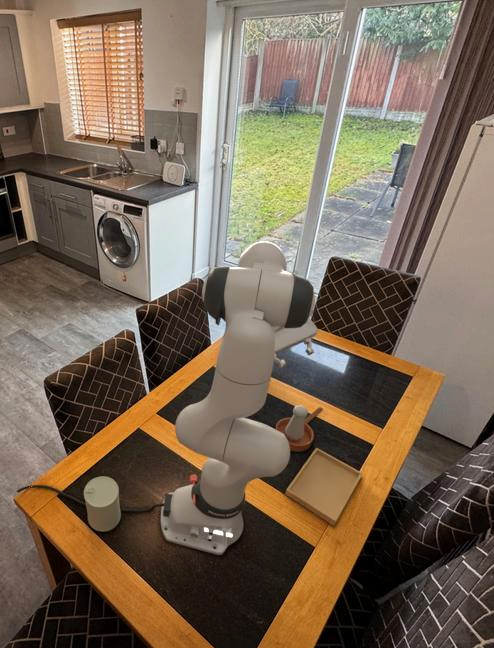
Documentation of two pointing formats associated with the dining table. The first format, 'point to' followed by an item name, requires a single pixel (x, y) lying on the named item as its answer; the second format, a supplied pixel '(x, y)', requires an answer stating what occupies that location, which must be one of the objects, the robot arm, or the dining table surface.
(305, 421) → the pan handle
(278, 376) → the dining table surface
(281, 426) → the pan
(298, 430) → the salt shaker
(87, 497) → the can
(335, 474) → the tray
